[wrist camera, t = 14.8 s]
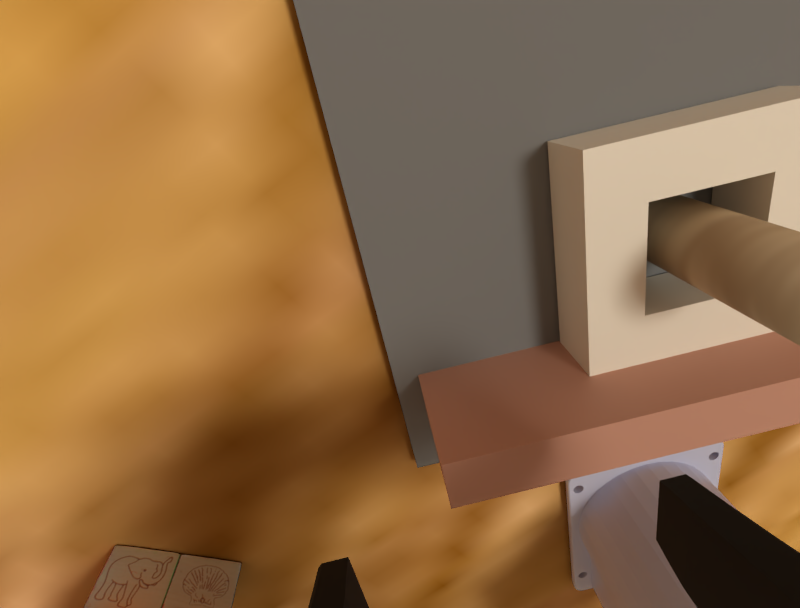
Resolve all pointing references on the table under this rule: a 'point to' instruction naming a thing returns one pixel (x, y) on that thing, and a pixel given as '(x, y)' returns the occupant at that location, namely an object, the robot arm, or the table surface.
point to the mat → (501, 144)
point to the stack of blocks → (163, 581)
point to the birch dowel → (730, 259)
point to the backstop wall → (599, 411)
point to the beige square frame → (628, 221)
